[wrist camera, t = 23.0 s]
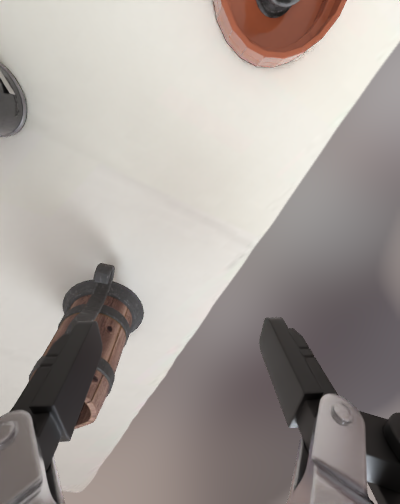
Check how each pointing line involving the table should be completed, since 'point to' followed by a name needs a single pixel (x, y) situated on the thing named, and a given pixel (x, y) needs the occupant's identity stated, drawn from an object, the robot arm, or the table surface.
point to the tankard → (110, 326)
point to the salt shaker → (275, 7)
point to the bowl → (275, 29)
